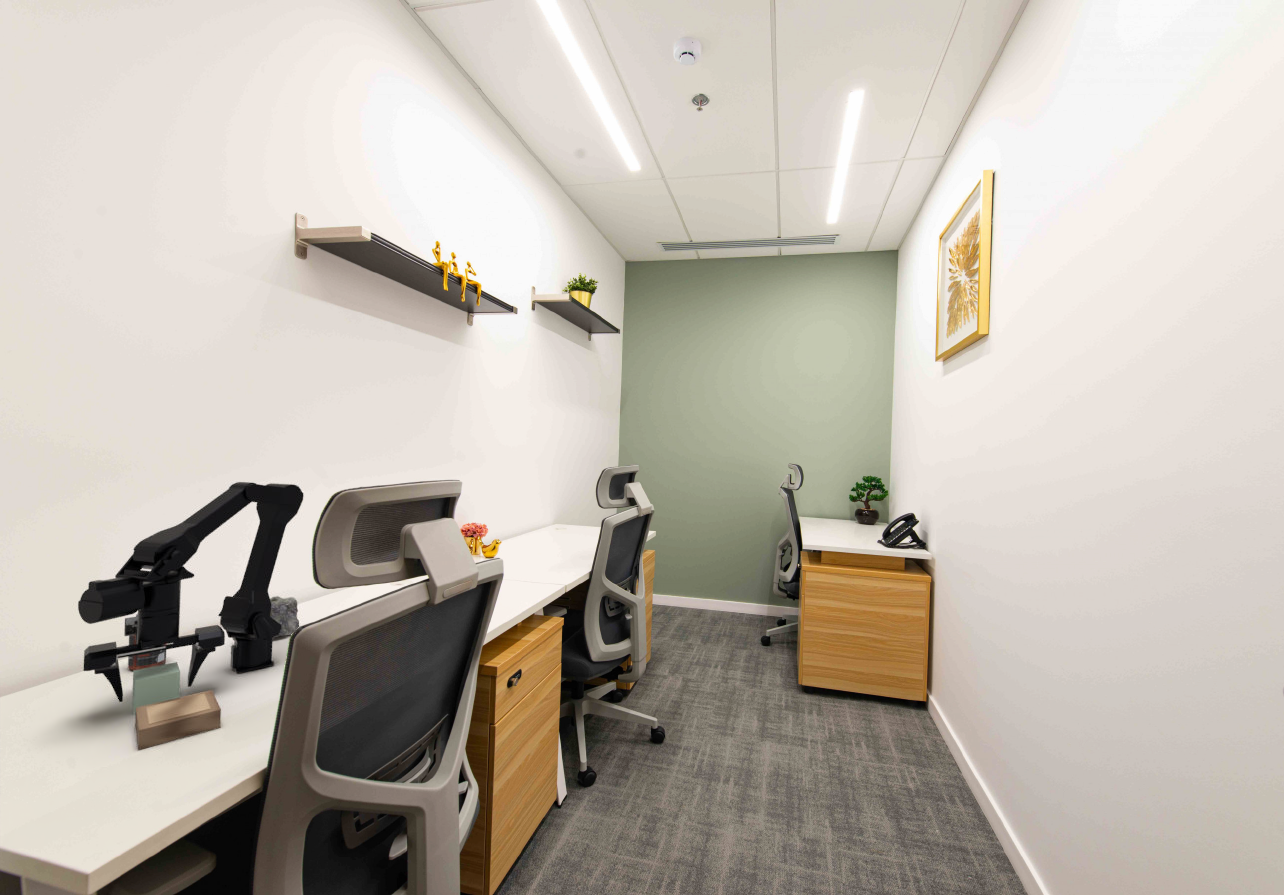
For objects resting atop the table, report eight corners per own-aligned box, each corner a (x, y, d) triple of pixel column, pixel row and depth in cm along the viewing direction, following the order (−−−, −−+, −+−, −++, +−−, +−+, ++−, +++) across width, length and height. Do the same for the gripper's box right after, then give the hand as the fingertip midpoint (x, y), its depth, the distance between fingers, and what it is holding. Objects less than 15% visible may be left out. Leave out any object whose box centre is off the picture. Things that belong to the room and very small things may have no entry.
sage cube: (175, 693, 102) (176, 661, 102) (179, 704, 97) (180, 671, 97) (132, 703, 97) (133, 670, 97) (133, 715, 93) (134, 680, 93)
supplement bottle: (172, 663, 115) (173, 610, 115) (136, 673, 109) (138, 618, 110) (157, 658, 117) (159, 606, 118) (121, 668, 112) (123, 614, 112)
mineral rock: (230, 648, 124) (231, 605, 124) (239, 634, 134) (241, 594, 134) (296, 641, 130) (297, 599, 130) (300, 628, 140) (302, 589, 140)
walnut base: (211, 706, 97) (211, 689, 97) (220, 727, 90) (220, 708, 90) (135, 725, 90) (135, 706, 90) (138, 749, 83) (139, 729, 83)
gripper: (217, 590, 110) (214, 666, 110) (86, 607, 97) (82, 694, 96) (226, 601, 102) (223, 683, 102) (85, 621, 89) (81, 716, 89)
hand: (156, 693), depth 97 cm, fingers open, 9 cm apart
